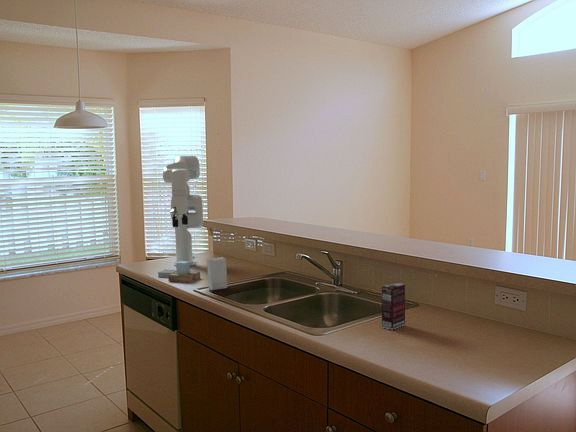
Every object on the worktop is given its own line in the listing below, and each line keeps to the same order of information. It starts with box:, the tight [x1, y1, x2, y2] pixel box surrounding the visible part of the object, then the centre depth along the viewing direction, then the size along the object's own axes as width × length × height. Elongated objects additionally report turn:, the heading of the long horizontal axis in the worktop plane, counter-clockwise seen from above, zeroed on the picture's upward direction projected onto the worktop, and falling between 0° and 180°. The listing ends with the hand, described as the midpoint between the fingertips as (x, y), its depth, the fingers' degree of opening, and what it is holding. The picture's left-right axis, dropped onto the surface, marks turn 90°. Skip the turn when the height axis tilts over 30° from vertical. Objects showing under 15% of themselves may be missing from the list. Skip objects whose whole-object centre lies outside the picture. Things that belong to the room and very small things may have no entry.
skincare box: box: [206, 256, 228, 291], centre depth 257 cm, size 8×6×15 cm
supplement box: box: [381, 282, 406, 331], centre depth 194 cm, size 9×5×16 cm, turn 133°
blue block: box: [175, 261, 191, 275], centre depth 276 cm, size 5×5×6 cm
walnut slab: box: [168, 270, 201, 284], centre depth 277 cm, size 12×12×4 cm
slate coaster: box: [157, 269, 177, 278], centre depth 287 cm, size 8×8×3 cm
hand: (180, 225), depth 277 cm, fingers open, 9 cm apart
